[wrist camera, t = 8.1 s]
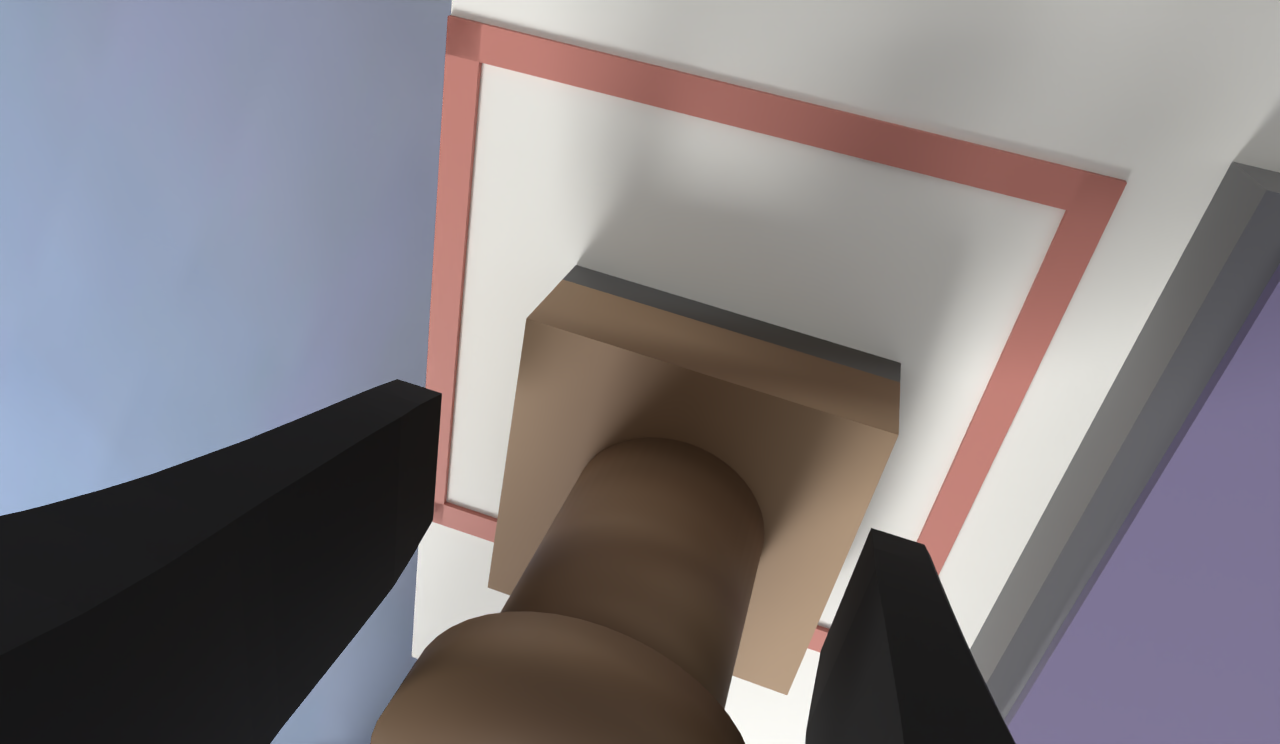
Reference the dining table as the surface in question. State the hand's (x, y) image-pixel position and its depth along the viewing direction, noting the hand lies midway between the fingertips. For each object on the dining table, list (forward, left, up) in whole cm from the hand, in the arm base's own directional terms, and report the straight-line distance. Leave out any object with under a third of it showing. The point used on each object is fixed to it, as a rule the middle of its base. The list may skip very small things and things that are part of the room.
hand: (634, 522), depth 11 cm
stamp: (0, +1, -4) cm, 4 cm away
